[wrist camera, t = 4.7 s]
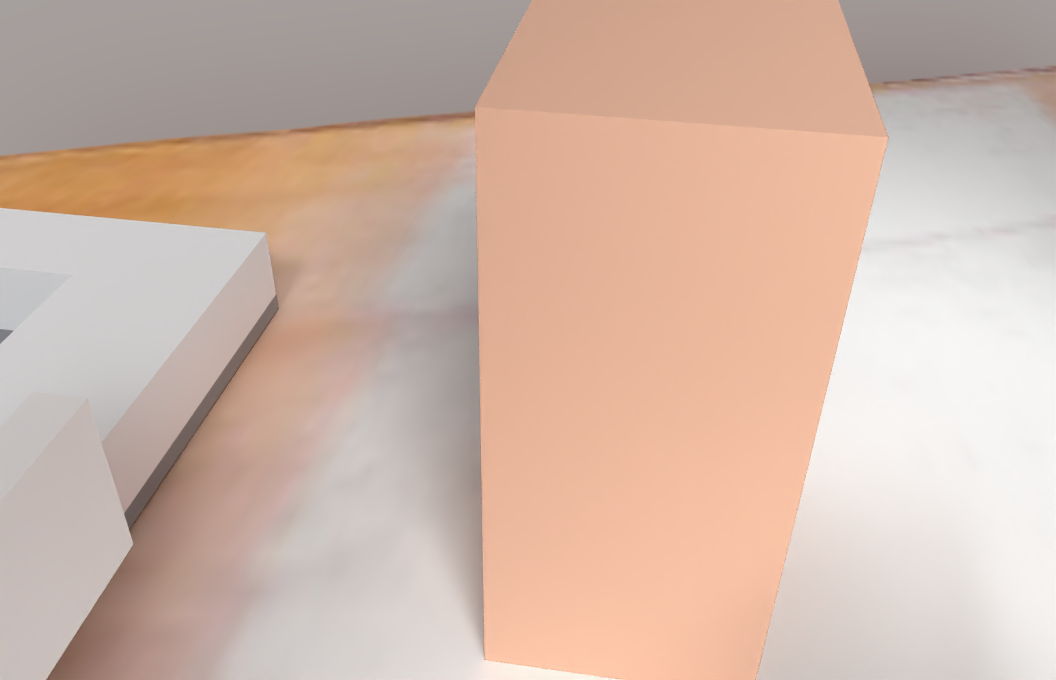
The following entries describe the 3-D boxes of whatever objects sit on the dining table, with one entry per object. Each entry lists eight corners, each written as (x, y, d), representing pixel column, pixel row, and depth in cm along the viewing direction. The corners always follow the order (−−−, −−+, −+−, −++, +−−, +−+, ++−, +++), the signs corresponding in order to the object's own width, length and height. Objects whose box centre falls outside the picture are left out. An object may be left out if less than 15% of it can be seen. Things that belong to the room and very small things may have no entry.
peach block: (742, 448, 23) (831, -20, 17) (751, 698, 18) (888, 137, 11) (538, 425, 24) (551, -36, 18) (484, 660, 18) (475, 106, 12)
